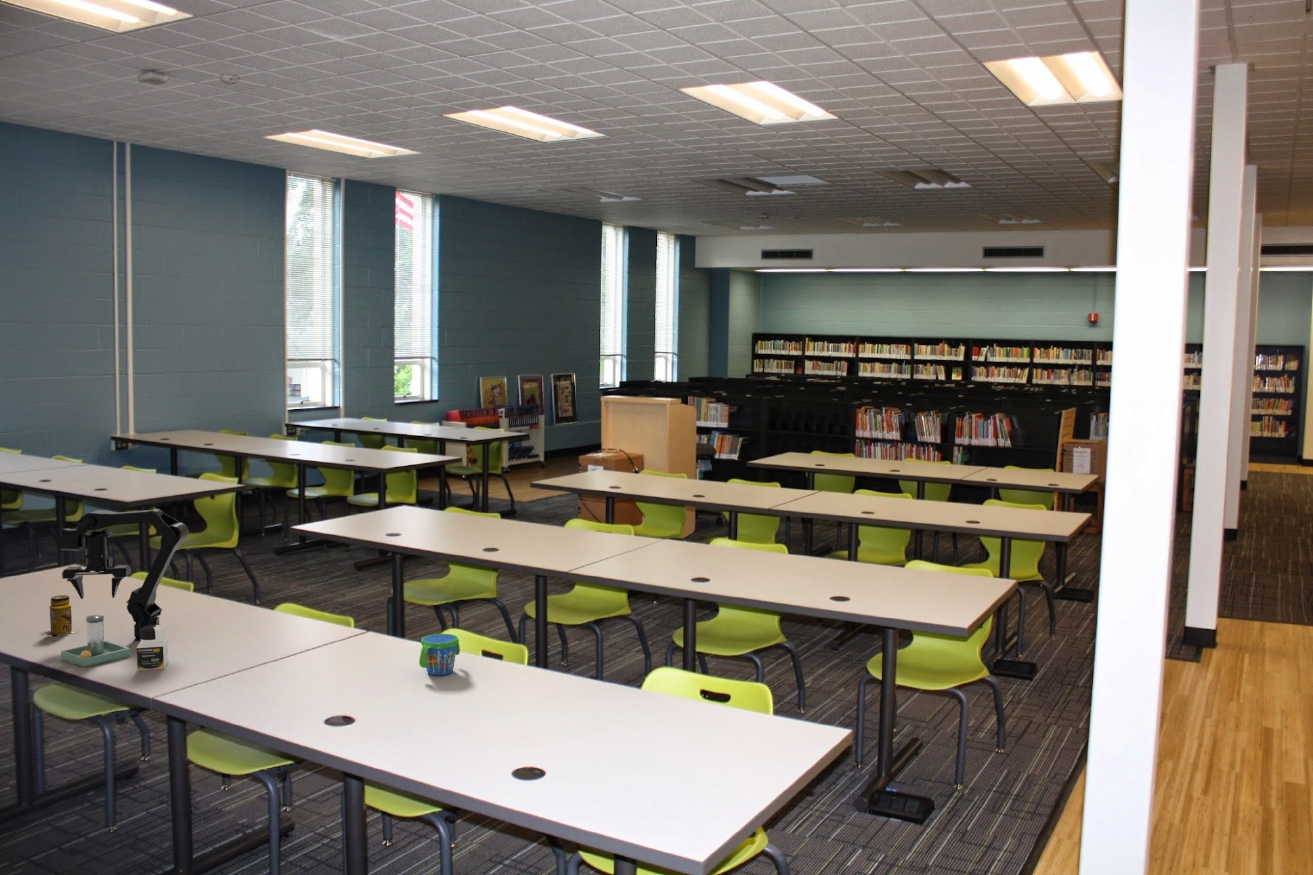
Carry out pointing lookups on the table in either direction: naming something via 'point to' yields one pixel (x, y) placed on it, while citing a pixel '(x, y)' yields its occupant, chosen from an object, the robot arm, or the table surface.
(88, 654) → the ball
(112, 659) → the tray
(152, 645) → the medicine bottle
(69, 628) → the condiment
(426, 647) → the snack cup
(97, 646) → the cylinder
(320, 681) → the table surface
